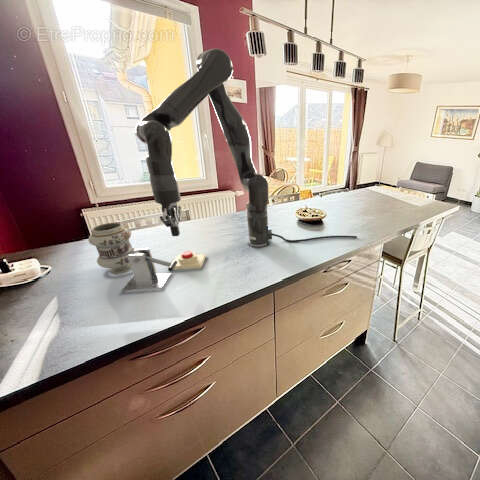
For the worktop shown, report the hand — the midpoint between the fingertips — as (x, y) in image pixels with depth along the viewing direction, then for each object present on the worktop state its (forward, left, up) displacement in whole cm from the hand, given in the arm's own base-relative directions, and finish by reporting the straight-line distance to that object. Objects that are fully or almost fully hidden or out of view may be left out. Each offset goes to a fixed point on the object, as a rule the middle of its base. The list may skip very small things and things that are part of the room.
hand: (176, 235), depth 87 cm
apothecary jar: (+22, -3, -15) cm, 27 cm away
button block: (-1, -4, -15) cm, 15 cm away
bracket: (+9, +8, -15) cm, 19 cm away
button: (-1, -4, -11) cm, 12 cm away
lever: (+6, +8, -7) cm, 12 cm away
